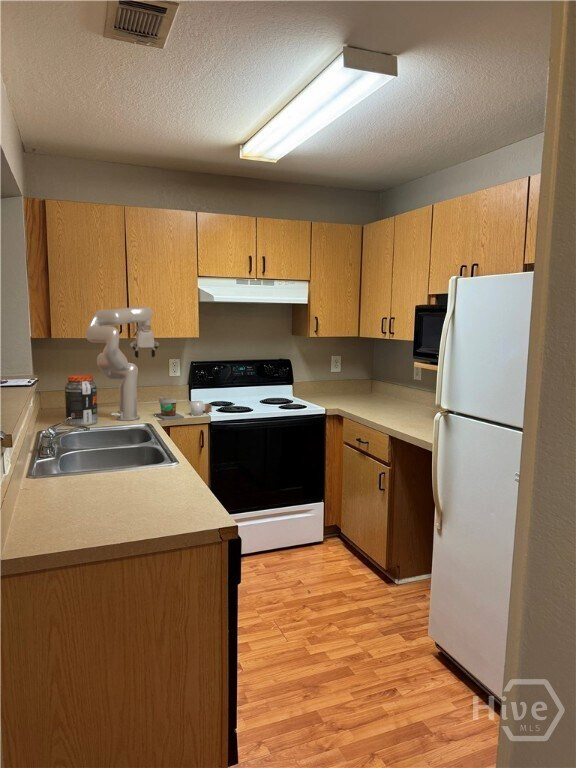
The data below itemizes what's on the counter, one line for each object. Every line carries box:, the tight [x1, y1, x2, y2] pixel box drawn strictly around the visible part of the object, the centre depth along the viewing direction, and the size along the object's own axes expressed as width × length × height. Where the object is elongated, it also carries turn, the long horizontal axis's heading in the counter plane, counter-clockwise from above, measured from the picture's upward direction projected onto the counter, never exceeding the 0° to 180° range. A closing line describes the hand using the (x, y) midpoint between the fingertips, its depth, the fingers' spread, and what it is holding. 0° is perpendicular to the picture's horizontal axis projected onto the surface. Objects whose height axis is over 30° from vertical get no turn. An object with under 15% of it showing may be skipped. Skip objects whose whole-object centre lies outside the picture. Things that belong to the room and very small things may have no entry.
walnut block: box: [203, 403, 213, 414], centre depth 312 cm, size 5×5×5 cm
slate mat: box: [153, 412, 185, 421], centre depth 298 cm, size 12×16×1 cm
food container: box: [158, 396, 178, 416], centre depth 295 cm, size 12×6×10 cm, turn 54°
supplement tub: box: [64, 374, 99, 427], centre depth 273 cm, size 16×16×26 cm
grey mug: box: [190, 400, 206, 417], centre depth 304 cm, size 8×7×8 cm
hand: (145, 357), depth 306 cm, fingers open, 9 cm apart
